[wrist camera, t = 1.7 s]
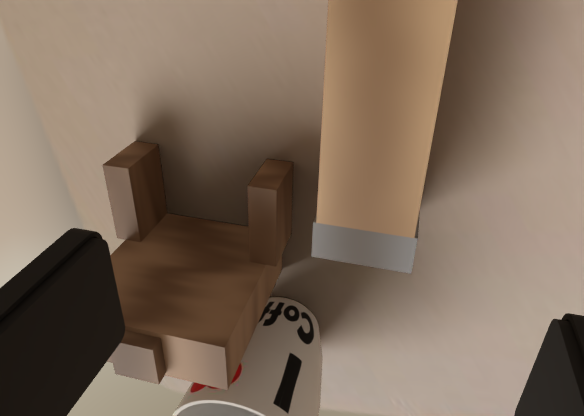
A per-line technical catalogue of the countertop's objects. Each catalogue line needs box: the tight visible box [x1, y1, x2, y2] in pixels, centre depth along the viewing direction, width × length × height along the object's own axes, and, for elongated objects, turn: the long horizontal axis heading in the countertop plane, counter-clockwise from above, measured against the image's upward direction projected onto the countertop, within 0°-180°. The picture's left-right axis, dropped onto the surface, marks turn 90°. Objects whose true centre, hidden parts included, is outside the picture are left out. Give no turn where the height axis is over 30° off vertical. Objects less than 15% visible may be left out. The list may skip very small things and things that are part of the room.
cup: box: [172, 297, 322, 416], centre depth 31 cm, size 8×8×10 cm
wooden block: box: [311, 0, 458, 274], centre depth 22 cm, size 5×14×6 cm, turn 178°
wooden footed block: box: [103, 141, 293, 390], centre depth 27 cm, size 10×8×11 cm
